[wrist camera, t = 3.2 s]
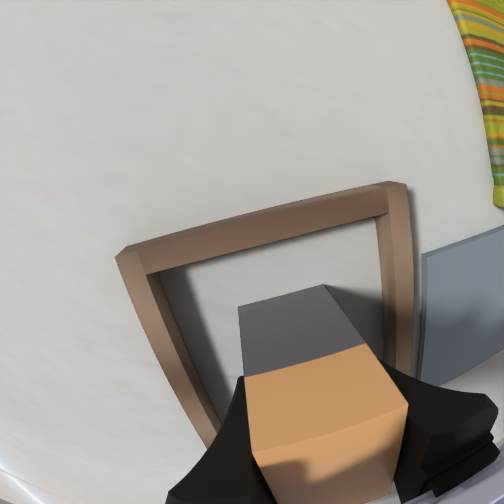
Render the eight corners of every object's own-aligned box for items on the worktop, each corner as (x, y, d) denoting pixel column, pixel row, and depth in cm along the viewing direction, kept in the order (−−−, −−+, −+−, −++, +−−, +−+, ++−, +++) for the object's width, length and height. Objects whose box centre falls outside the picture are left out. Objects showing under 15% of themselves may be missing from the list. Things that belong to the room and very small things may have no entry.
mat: (502, 343, 17) (506, 346, 16) (414, 391, 17) (418, 396, 16) (518, 219, 14) (523, 221, 13) (421, 254, 14) (426, 257, 13)
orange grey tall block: (335, 378, 16) (389, 494, 8) (265, 397, 16) (289, 524, 8) (322, 284, 14) (408, 403, 6) (237, 306, 14) (252, 452, 6)
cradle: (395, 400, 17) (405, 414, 15) (218, 449, 17) (218, 466, 15) (388, 180, 13) (406, 183, 11) (126, 246, 13) (114, 257, 11)
